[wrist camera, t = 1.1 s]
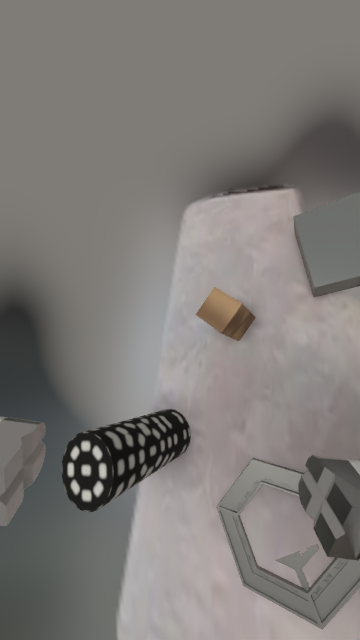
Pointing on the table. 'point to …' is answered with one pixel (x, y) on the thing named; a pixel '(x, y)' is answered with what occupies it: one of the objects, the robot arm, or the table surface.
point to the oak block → (225, 314)
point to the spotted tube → (121, 456)
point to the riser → (331, 245)
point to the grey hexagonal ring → (303, 601)
